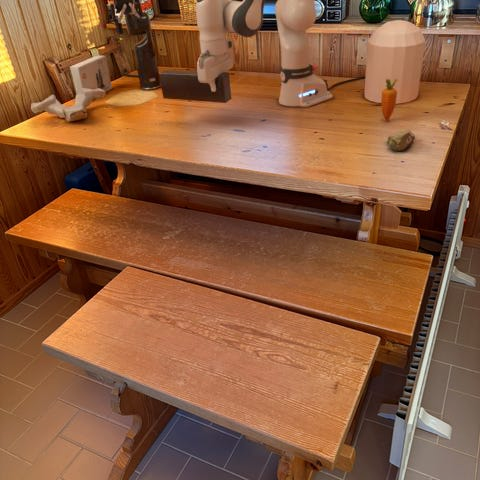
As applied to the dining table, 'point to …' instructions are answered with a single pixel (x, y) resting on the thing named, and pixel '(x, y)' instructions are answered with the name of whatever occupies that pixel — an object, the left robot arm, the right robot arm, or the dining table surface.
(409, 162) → the dining table surface
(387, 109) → the carrot
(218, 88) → the bar
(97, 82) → the skincare box
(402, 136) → the rock
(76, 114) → the animal horns
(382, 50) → the container
